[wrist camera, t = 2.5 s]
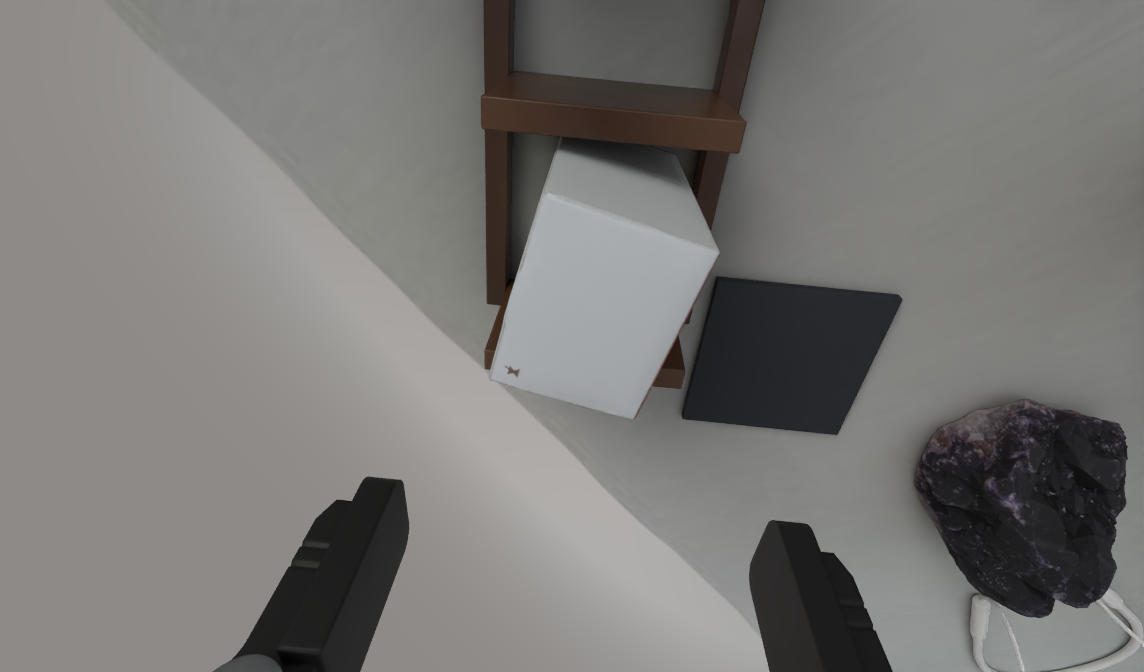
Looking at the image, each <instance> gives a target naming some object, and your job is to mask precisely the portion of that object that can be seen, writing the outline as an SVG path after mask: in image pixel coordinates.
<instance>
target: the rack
mask: <svg viewBox="0 0 1144 672" xmlns="http://www.w3.org/2000/svg"><path fill="white" fill-rule="evenodd" d="M764 4H765V0H732V1H731V6H730V10H729V15H728V20H727V25H726V30H725V35H724V39H723V44H722V49H721V54H720V59H719V64H718V69H717V73H716V78H715V83H714V88H713V91H712V90H707V89H696V88H686V87H676V86H665V85H655V84H644V83H634V82H624V81H613V80H603V79H593V78H582V77H572V76H561V75H551V74H541V73H530V72H520V71H514V20H515V0H484V78H485V94H483V95H482V96H481V127H482V129H485V175H486V271H487V304H492V305H501V306H500V309H499V312H498V315H497V317H496V320H495V323H494V326H493V328H492V331H491V334H490V337H489V340H488V342H487V345H486V348H485V369H489V370H490V369H491V366H492V362H493V358H494V354H495V351H496V347H497V343H498V340H499V336H500V332H501V329H502V325H503V320H504V314H505V311H506V308H507V304H508V301H509V297H510V294H511V291H512V288H513V285H514V282H515V279H512V278H511V279H510V257H511V198H512V138H513V132H519V133H529V134H540V135H550V136H560V137H570V138H581V139H591V140H601V141H612V142H622V143H632V144H642V145H653V146H663V147H673V148H683V149H694V150H701V151H700V156H699V161H698V165H697V170H696V175H695V180H694V185H693V190H692V192H693V194H694V196H695V198H696V201H697V203H698V205H699V207H700V209H701V212H702V214H703V216H704V218H705V220H706V222H707V225H708V227H709V229H710V231H711V228H712V224H713V220H714V216H715V211H716V207H717V203H718V199H719V194H720V190H721V186H722V182H723V177H724V173H725V169H726V165H727V160H728V156H729V153H735V154H738V153H739V152H740V148H741V144H742V140H743V136H744V131H745V127H746V123H747V122H746V121H745V120H744V119H743V118H742V117H741V116H740V115H739V110H740V105H741V101H742V97H743V93H744V88H745V84H746V80H747V76H748V71H749V67H750V63H751V59H752V54H753V50H754V46H755V42H756V37H757V33H758V29H759V25H760V21H761V16H762V12H763V8H764ZM692 309H693V307H692ZM692 309H691V311H690V313H689V315H688V317H687V319H686V321H685V323H684V324H689V321H690V317H691V313H692ZM684 375H685V366H684V361H683V356H682V351H681V346H680V341H679V336H678V337H677V339H676V341H675V343H674V345H673V346H672V348H671V350H670V352H669V354H668V356H667V358H666V360H665V362H664V364H663V366H662V368H661V370H660V372H659V374H658V375H657V377H656V379H655V381H654V383H653V385H652V386H655V387H665V388H675V389H681V388H682V383H683V379H684Z"/></svg>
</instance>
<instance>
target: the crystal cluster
mask: <svg viewBox="0 0 1144 672" xmlns="http://www.w3.org/2000/svg"><path fill="white" fill-rule="evenodd" d="M1125 439H1126V436H1125V435H1124V431H1123V430H1122V428H1121V427H1120V424H1118V423H1115V422H1110V421H1107V420H1101V419H1098V418H1094V417H1088V416H1085V415H1082V414H1080V413H1078V412H1074V411H1071V410H1058V409H1053V408H1049V407H1047V406H1045V405H1043V404H1040V403H1037V402H1035V401H1032V400H1029V399H1021V400H1017V401H1014V402H1012V403H1009V404H1006V405H1002V406H998V407H993V408H988V409H983V410H977V411H974V412H972V413H970V414H969V415H967V416H965V417H963V418H961V419H960V420H957V421H954V422H952V423H949V424H947V425H945V426H943V427H941V428H939V429H938V430H937V432H936V433H935V434H934V436H933V437H932V438H931V440H930V441H929V442H928V443H927V446H928V447H927V448H926V450H925V451H924V453H923V454H922V457H921V462H920V463H919V464H918V465H917V468H916V472H915V477H916V478H915V480H914V485H915V487H916V489H917V490H918V492H919V499H920V501H921V503H922V505H923V507H924V508H925V510H926V512H927V513H928V515H929V516H930V518H931V520H932V521H933V523H934V525H935V527H936V528H937V530H938V532H939V533H940V535H941V537H942V539H943V541H944V542H945V544H946V546H947V548H948V550H949V553H950V554H951V556H952V557H953V558H954V560H955V562H956V565H957V566H958V567H959V569H960V570H961V571H962V573H963V574H964V575H965V576H966V579H967V581H968V582H969V583H970V584H971V585H972V586H973V587H974V588H975V589H977V590H978V591H979V592H980V593H981V594H982V595H983V596H986V597H989V598H991V599H993V600H994V601H996V602H998V603H1000V604H1001V605H1003V606H1005V607H1007V608H1009V609H1010V610H1012V611H1014V612H1016V613H1018V614H1020V615H1023V616H1026V617H1037V618H1042V617H1045V616H1048V615H1049V614H1050V613H1051V612H1052V610H1053V606H1054V602H1055V599H1057V600H1059V601H1061V602H1063V603H1064V604H1067V605H1070V606H1072V607H1075V608H1088V606H1089V605H1090V603H1092V602H1095V601H1097V600H1099V599H1100V598H1101V597H1103V595H1104V594H1105V593H1106V592H1107V590H1108V588H1109V586H1110V584H1111V581H1112V579H1113V577H1114V574H1115V572H1116V569H1117V567H1116V563H1115V561H1114V559H1113V558H1112V553H1111V549H1112V545H1113V543H1114V542H1115V538H1116V529H1115V526H1114V525H1115V524H1117V522H1116V519H1115V518H1116V517H1117V516H1118V515H1119V513H1120V512H1121V511H1122V510H1123V509H1124V507H1125V505H1126V498H1125V491H1124V485H1125V477H1126V470H1125V468H1126V460H1127V459H1128V458H1127V447H1128V446H1127V445H1126V442H1125Z"/></svg>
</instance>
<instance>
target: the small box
mask: <svg viewBox="0 0 1144 672" xmlns="http://www.w3.org/2000/svg"><path fill="white" fill-rule="evenodd" d="M719 255H720V252H719V249H718V247H717V245H716V243H715V240H714V238H713V236H712V234H711V231H710V229H709V227H708V225H707V222H706V220H705V218H704V216H703V214H702V212H701V209H700V207H699V205H698V203H697V201H696V198H695V196H694V194H693V192H692V189H691V187H690V185H689V183H688V181H687V178H686V176H685V174H684V172H683V170H682V167H681V165H680V163H679V161H678V159H677V157H676V155H674V154H671V153H668V152H665V151H662V150H659V149H656V148H654V147H651V146H648V145H642V144H632V143H622V142H612V141H601V140H591V139H581V138H570V137H560V139H559V142H558V145H557V149H556V151H555V154H554V157H553V160H552V163H551V166H550V169H549V173H548V176H547V179H546V182H545V185H544V189H543V192H542V195H541V198H540V201H539V204H538V207H537V210H536V214H535V217H534V220H533V223H532V227H531V230H530V233H529V236H528V239H527V243H526V246H525V249H524V252H523V256H522V259H521V262H520V266H519V269H518V272H517V275H516V278H515V282H514V285H513V288H512V291H511V294H510V297H509V301H508V304H507V308H506V311H505V314H504V320H503V325H502V329H501V332H500V336H499V340H498V343H497V347H496V351H495V354H494V358H493V362H492V366H491V369H490V373H489V379H490V380H491V381H496V382H500V383H503V384H506V385H509V386H513V387H516V388H519V389H522V390H526V391H529V392H533V393H536V394H540V395H543V396H547V397H551V398H554V399H558V400H561V401H565V402H568V403H572V404H576V405H579V406H583V407H587V408H590V409H594V410H598V411H601V412H605V413H608V414H612V415H616V416H620V417H624V418H627V419H631V420H634V419H635V418H636V416H637V414H638V413H639V411H640V409H641V407H642V405H643V403H644V401H645V399H646V397H647V395H648V393H649V391H650V389H651V387H652V385H653V383H654V381H655V379H656V377H657V375H658V374H659V372H660V370H661V368H662V366H663V364H664V362H665V360H666V358H667V356H668V354H669V352H670V350H671V348H672V346H673V345H674V343H675V341H676V339H677V337H678V335H679V333H680V331H681V329H682V327H683V325H684V323H685V321H686V319H687V317H688V315H689V313H690V311H691V309H692V307H693V306H694V304H695V302H696V300H697V298H698V296H699V294H700V292H701V290H702V288H703V286H704V284H705V282H706V280H707V278H708V276H709V274H710V272H711V270H712V268H713V266H714V264H715V262H716V260H717V258H718V257H719Z"/></svg>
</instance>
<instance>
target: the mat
mask: <svg viewBox="0 0 1144 672" xmlns="http://www.w3.org/2000/svg"><path fill="white" fill-rule="evenodd" d="M901 302H902V298H901V297H900V296H899V295H895V294H885V293H875V292H865V291H855V290H845V289H835V288H824V287H814V286H804V285H794V284H784V283H774V282H764V281H754V280H744V279H734V278H724V277H717V278H716V281H715V285H714V289H713V293H712V297H711V301H710V305H709V309H708V313H707V317H706V320H705V324H704V328H703V332H702V336H701V340H700V344H699V348H698V352H697V356H696V360H695V364H694V368H693V371H692V375H691V379H690V383H689V387H688V391H687V395H686V399H685V403H684V407H683V411H682V418H683V419H687V420H697V421H707V422H717V423H726V424H736V425H746V426H756V427H765V428H775V429H785V430H795V431H804V432H814V433H824V434H834V435H837V434H838V433H839V430H840V428H841V426H842V424H843V422H844V420H845V418H846V416H847V414H848V412H849V410H850V408H851V406H852V404H853V401H854V399H855V397H856V395H857V393H858V391H859V389H860V387H861V385H862V383H863V381H864V379H865V377H866V374H867V372H868V370H869V368H870V366H871V364H872V362H873V360H874V358H875V356H876V354H877V352H878V350H879V348H880V345H881V343H882V341H883V339H884V337H885V335H886V333H887V331H888V329H889V327H890V325H891V323H892V321H893V318H894V316H895V314H896V312H897V310H898V308H899V306H900V304H901Z"/></svg>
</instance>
